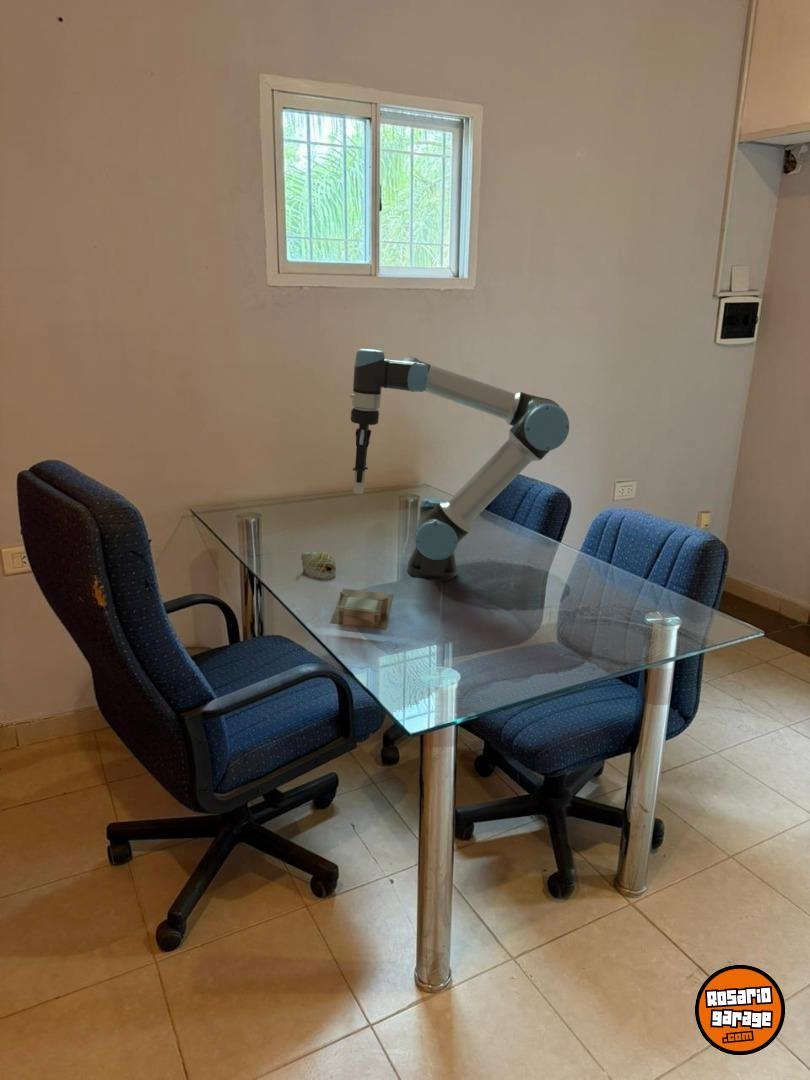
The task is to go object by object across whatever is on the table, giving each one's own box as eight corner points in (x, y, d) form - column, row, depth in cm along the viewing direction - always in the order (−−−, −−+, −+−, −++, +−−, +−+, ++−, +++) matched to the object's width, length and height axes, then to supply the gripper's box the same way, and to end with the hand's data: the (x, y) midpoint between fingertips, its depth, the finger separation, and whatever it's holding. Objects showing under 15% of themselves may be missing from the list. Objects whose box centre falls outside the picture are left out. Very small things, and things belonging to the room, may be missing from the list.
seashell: (336, 583, 211) (322, 551, 208) (305, 593, 213) (291, 562, 210) (344, 569, 220) (330, 539, 217) (315, 579, 222) (301, 549, 220)
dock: (393, 598, 206) (395, 580, 204) (385, 634, 184) (387, 613, 182) (342, 592, 206) (344, 573, 205) (329, 627, 185) (331, 606, 183)
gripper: (353, 403, 207) (347, 485, 215) (349, 410, 195) (342, 497, 202) (380, 406, 207) (373, 488, 215) (377, 413, 195) (370, 500, 202)
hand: (358, 492), depth 209 cm, fingers closed
